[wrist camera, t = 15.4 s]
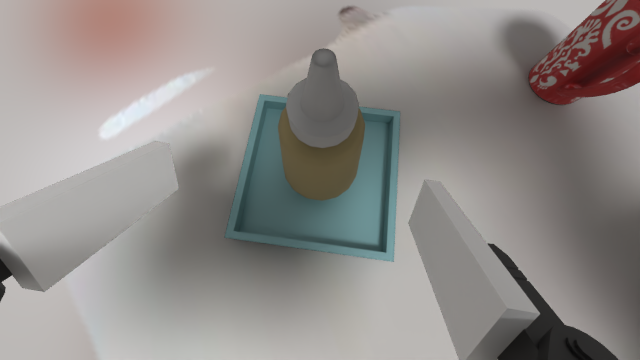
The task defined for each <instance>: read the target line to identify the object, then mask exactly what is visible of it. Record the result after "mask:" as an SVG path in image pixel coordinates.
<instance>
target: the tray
mask: <svg viewBox="0 0 640 360" xmlns="http://www.w3.org/2000/svg"><path fill="white" fill-rule="evenodd" d="M286 103H287V98H286V97H278V96H270V95H262V94H260V95H259V99H258V104H257V108H256V112H255V116H254V120H253V124H252V128H251V132H250V136H249V140H248V144H247V148H246V152H245V156H244V160H243V164H242V168H241V172H240V176H239V180H238V184H237V188H236V193H235V197H234V201H233V205H232V209H231V213H230V217H229V221H228V225H227V229H226V233H225V237H224V238H231V239H238V240H245V241H252V242H259V243H266V244H273V245H280V246H287V247H294V248H301V249H308V250H314V251H321V252H328V253H335V254H342V255H349V256H356V257H363V258H370V259H377V260H384V261H391V262H394V244H395V221H396V199H397V176H398V153H399V130H400V112H399V111H391V110H383V109H375V108H367V107H359V109H360V110H361V113H362V116H363V119H364V122H365V132H364V140H363V145H362V150H361V155H360V160H359V165H358V170H357V175H356V177H355V179H354V181H353V183H352V184H351V186H350V188H349V189H348V190H346V191H345V192H343V193H342V194H341V195H339V196H338V197H336V198H332V199H327V200H323V201H320V200H314V199H308V198H306V197H304V196H302V195H301V194H299V193H297V192H296V191H294V190H293V188H292V187H291V185H290V184H289V183H288V181H287V180H286V178H285V173H284V168H283V162H282V155H281V147H280V140H279V132H278V124H279V120H280V116H281V112H282V111H283V109H284V108H285V107H286Z"/></svg>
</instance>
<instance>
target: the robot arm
mask: <svg viewBox="0 0 640 360" xmlns="http://www.w3.org/2000/svg"><path fill="white" fill-rule="evenodd" d="M178 189H179V186H178V182H177V177H176V172H175V168H174V163H173V159H172V154H171V149H170V145H169V143H165V142H158V141H154V142H152V143H149V144H147V145H145V146H142V147H140V148H138V149H135V150H133V151H130V152H128V153H126V154H123V155H121V156H119V157H116V158H114V159H112V160H109V161H107V162H105V163H102V164H100V165H98V166H95V167H93V168H90V169H88V170H86V171H83V172H81V173H79V174H76V175H74V176H72V177H69V178H67V179H65V180H62V181H60V182H57V183H55V184H53V185H51V186H48V187H46V188H44V189H41V190H39V191H36V192H34V193H32V194H29V195H27V196H25V197H22V198H20V199H18V200H15V201H13V202H11V203H8V204H6V205H3V206H1V207H0V301H1V299H2V297H3V295H4V293H5V286H4V285H3V284H2V283H1V282H2V281H4V280H5V279H7V278H8V277H10V276H12V275H13V277H14V278H15V279H16V281H17V282H18V283H19V284H20V286H21V287H22V288H25V289H31V290H37V291H43V292H45V291H46V290H48V289H49V288H50V287H52V286H53V285H54V284H55V283H57V282H58V281H59V280H61V279H62V278H63V277H65V276H66V275H67V274H69V273H70V272H71V271H72V270H74V269H75V268H76V267H78V266H79V265H80V264H82V263H83V262H84V261H86V260H87V259H88V258H89V257H91V256H92V255H93V254H95V253H96V252H97V251H99V250H100V249H101V248H102V247H104V246H105V245H106V244H108V243H109V242H110V241H112V240H113V239H114V238H115V237H117V236H118V235H119V234H121V233H122V232H123V231H125V230H126V229H127V228H128V227H130V226H131V225H132V224H134V223H135V222H136V221H138V220H139V219H140V218H141V217H143V216H144V215H145V214H147V213H148V212H149V211H151V210H152V209H153V208H154V207H156V206H157V205H158V204H160V203H161V202H162V201H164V200H165V199H166V198H168V197H169V196H170V195H171V194H173V193H174V192H175V191H177V190H178ZM408 224H409V226H410V229H411V232H412V234H413V237H414V240H415V242H416V245H417V248H418V250H419V253H420V256H421V259H422V261H423V264H424V267H425V269H426V272H427V275H428V277H429V280H430V283H431V285H432V288H433V291H434V293H435V296H436V299H437V302H438V304H439V307H440V310H441V312H442V315H443V318H444V320H445V323H446V326H447V328H448V331H449V334H450V336H451V339H452V342H453V345H454V347H455V350H456V353H457V355H458V358H459V360H497V359H498V360H618V359H617V358H616V356H615V355H613V354H612V353H611V352H610V351H609V350H608V349H607V348H606V347H605V346H603V345H602V344H601V343H600V342H598V341H597V340H595V339H594V338H592V337H591V336H589V335H588V334H586V333H584V332H582V331H580V330H578V329H576V328H574V327H570V326H566V325H564V323H563V322H562V321H561V320H560V319H559V317H558V316H557V315H556V314H555V312H554V311H553V310H552V309H551V308H550V306H549V305H548V304H547V303H546V301H545V300H544V299H543V298H542V297H541V295H540V294H539V293H538V292H537V290H536V289H535V288H534V287H533V286H532V284H531V283H530V282H529V281H527V278H526V277H525V276H524V275H523V273H522V272H521V271H520V270H518V267H517V266H516V265H515V264H514V262H513V261H512V260H511V259H510V257H509V256H508V255H507V254H505V253H504V252H503V251H502V250H500V249H499V248H498V247H497V246H495V245H494V244H488V243H486V241H485V240H484V239H483V237H482V236H481V235H480V233H479V232H478V231H477V229H476V228H475V227H474V226H473V224H472V223H471V222H470V220H469V219H468V218H467V216H466V215H465V214H464V212H463V211H462V210H461V208H460V207H459V206H458V204H457V203H456V202H455V200H454V199H453V198H452V197H451V195H450V194H449V193H448V191H447V190H446V189H445V187H444V186H443V185H442V183H441V182H438V181H431V180H424V183H423V185H422V188H421V191H420V193H419V196H418V199H417V201H416V204H415V207H414V210H413V212H412V215H411V218H410V220H409V223H408Z"/></svg>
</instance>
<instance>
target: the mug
mask: <svg viewBox="0 0 640 360" xmlns="http://www.w3.org/2000/svg"><path fill="white" fill-rule="evenodd" d="M529 82H530V85H531V87H532V89H533V90H534V92H535V93H536V94H537V95H538V96H539V97H541V98H542V99H544V100H546V101H548V102H550V103H554V104H570V103H572V102H574V101H576V100H578V99H580V98H582V97H595V96H602V95H607V94H611V93H615V92H618V91H621V90H624V89H626V88H629V87H631V86H633V85H635V84H637V83H639V82H640V0H605V1H604V2H603V3H602V4H601V5H600V6H599V7H598V8H597V9H596V10H595V11H594V12H592V13H591V14H590V15H589V16H588V17H587V18H586V19H585V20H584V21H583V22H582V23H581V24H580V25H579V26H577V27H576V28H575V29H574V30H573V31H572V32H571V33H570V34H569V35H568V36H567V37H566V38H565V39H564V40H562V41H561V42H560V43H559V44H558V45H557V46H556V47H555V48H554V49H553V50H552V51H551V52H549V53H548V54H547V55H546V56H545V57H544V58H543V59H542V60H541V61H539V62H538V63H537V64H536V65H535V66H534V67H533V68H532V70H531V71H530V73H529Z"/></svg>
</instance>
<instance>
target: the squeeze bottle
mask: <svg viewBox="0 0 640 360" xmlns="http://www.w3.org/2000/svg"><path fill="white" fill-rule="evenodd" d="M278 132H279V140H280V147H281V155H282V162H283V168H284V173H285V178H286V180H287V181H288V183H289V184H290V185H291V187H292V188H293V190H294V191H296V192H297V193H299V194H301V195H302V196H304V197H306V198H308V199H314V200H320V201H323V200H327V199H332V198H336V197H338V196H339V195H341V194H342V193H343V192H345V191H346V190H348V189H349V188H350V186H351V184H352V183H353V181H354V179H355V177H356V175H357V170H358V165H359V160H360V155H361V150H362V145H363V140H364V132H365V122H364V119H363V116H362V113H361V110H360V109H359V103H358V100H357V97H356V94H355V92H354V91H353V89H352V88H351V87H350V86H349V85H348V84H347V83H346V82H344V81H342V80H340V77H339V71H338V65H337V60H336V56H335V54H334V53H333V51H331V50H329V49H324V48H323V49H319V50H317V51H315V52H314V54H313V55H312V59H311V63H310V68H309V72H308V76H307V78H306V79H304V80H302V81H300V82H299V83H297V84H296V85H295V86H294V88H293V89H292V90H291V91H290V93H289V94H288V98H287V103H286V107H285V108H284V109H283V111H282V112H281V116H280V120H279V124H278Z"/></svg>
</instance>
